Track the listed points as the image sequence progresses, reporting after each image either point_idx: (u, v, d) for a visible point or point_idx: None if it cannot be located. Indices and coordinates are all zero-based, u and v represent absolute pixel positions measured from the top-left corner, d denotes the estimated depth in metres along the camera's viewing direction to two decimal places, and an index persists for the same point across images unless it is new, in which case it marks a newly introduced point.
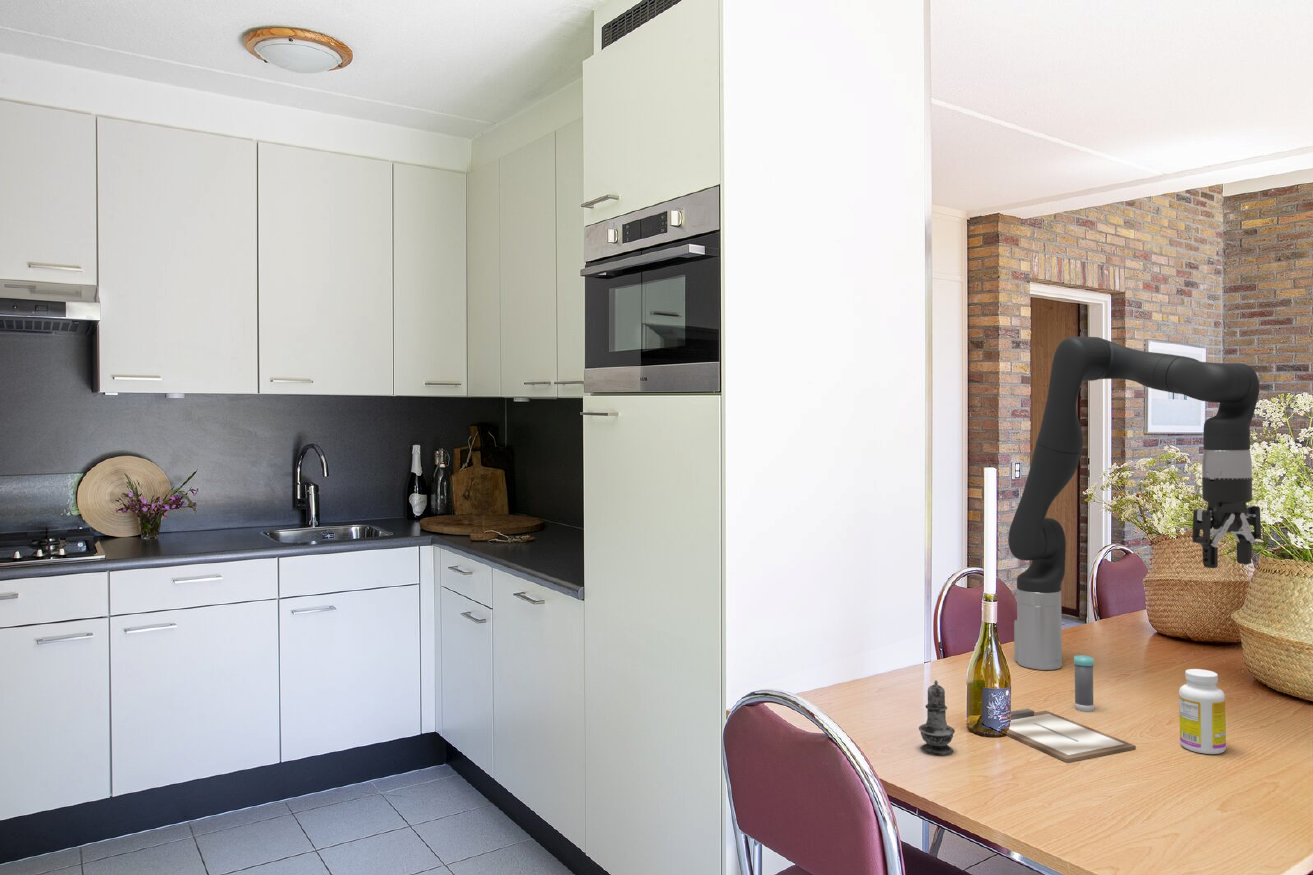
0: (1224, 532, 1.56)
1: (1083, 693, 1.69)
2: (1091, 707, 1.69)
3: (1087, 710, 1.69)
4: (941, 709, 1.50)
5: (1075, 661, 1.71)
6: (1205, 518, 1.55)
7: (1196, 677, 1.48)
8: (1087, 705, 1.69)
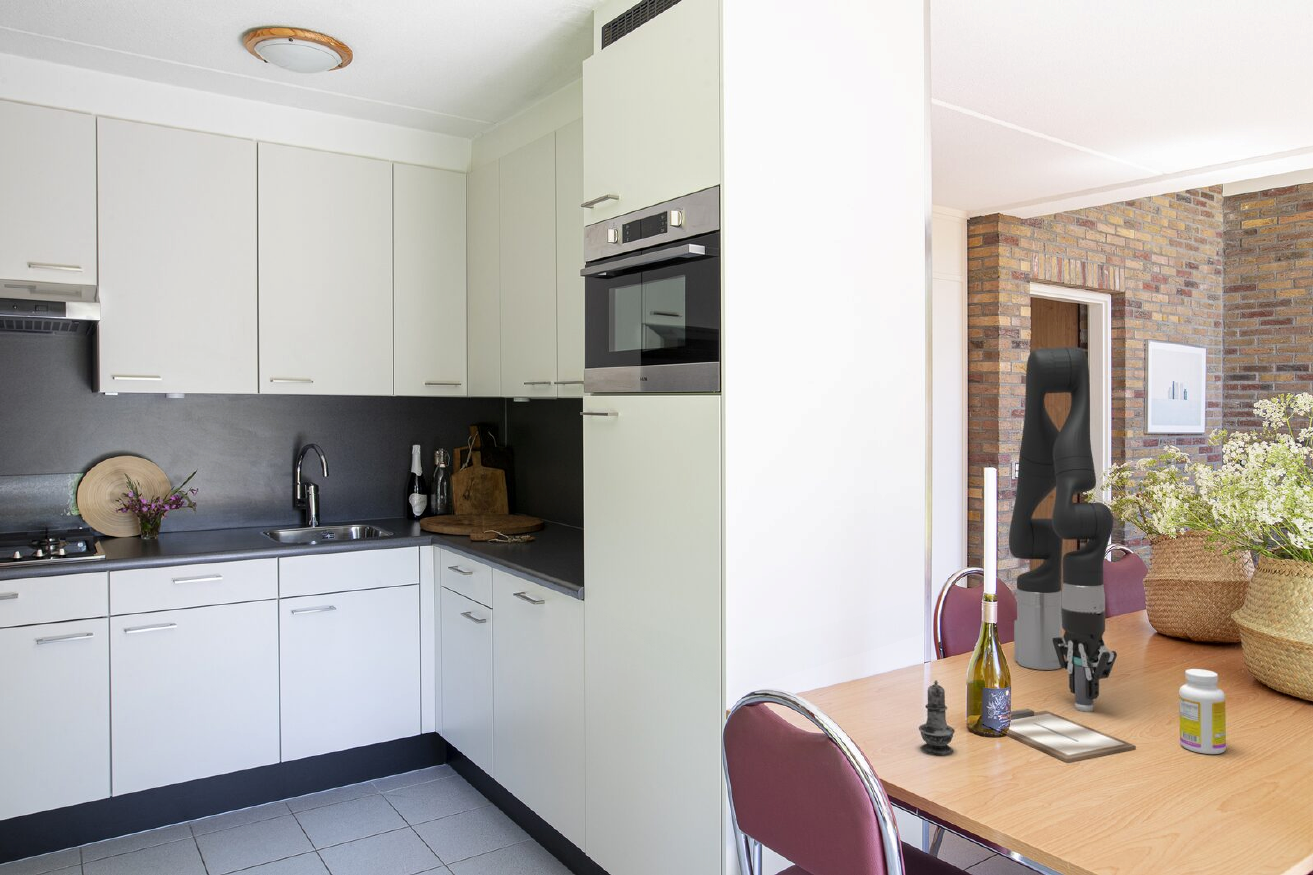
0: None
1: (1083, 693, 1.69)
2: (1091, 707, 1.70)
3: (1087, 710, 1.69)
4: (941, 709, 1.50)
5: (1075, 661, 1.71)
6: (1114, 659, 1.65)
7: (1196, 677, 1.48)
8: (1087, 705, 1.69)
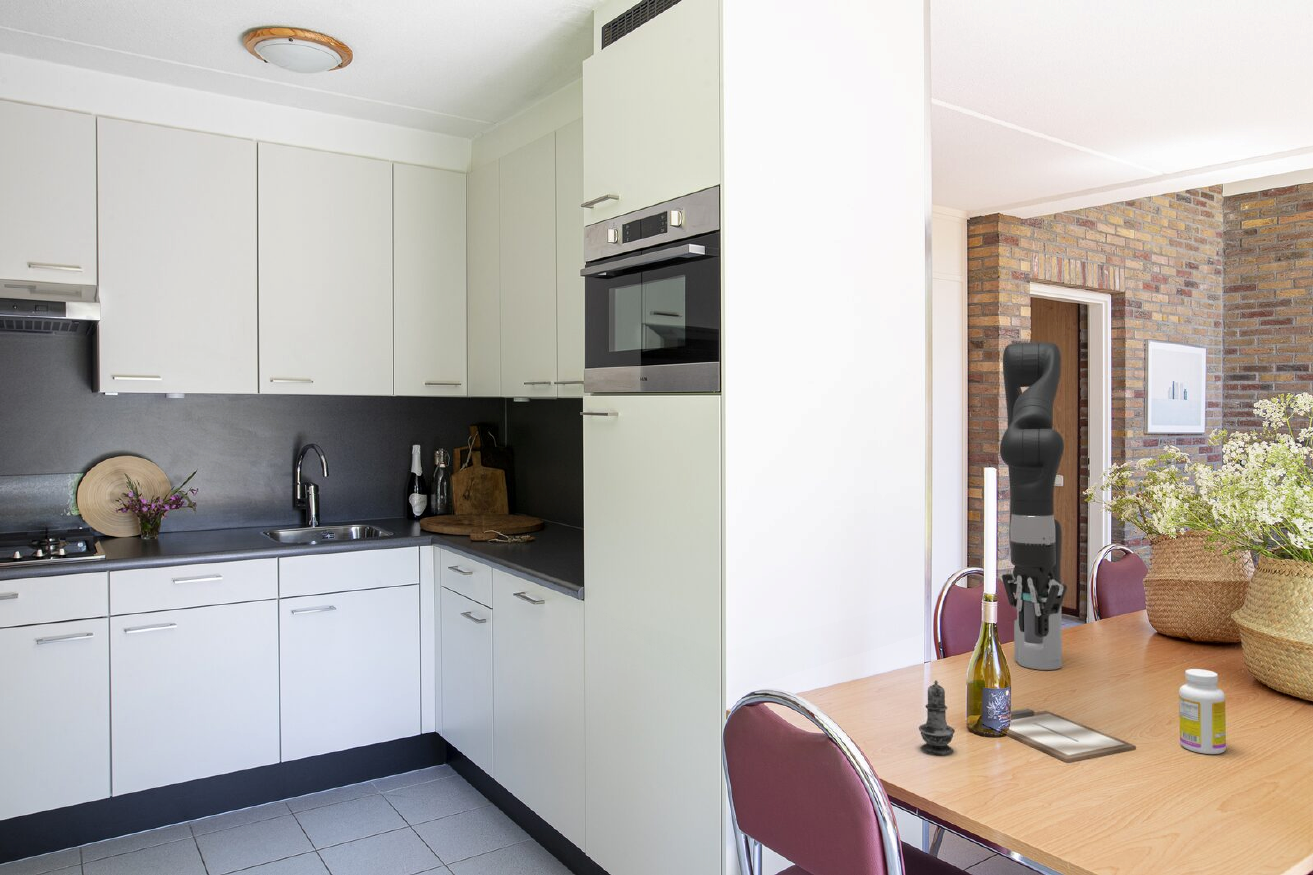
0: (1047, 597, 1.60)
1: (1032, 630, 1.60)
2: (1041, 645, 1.60)
3: (1036, 648, 1.60)
4: (941, 709, 1.50)
5: (1024, 597, 1.61)
6: (1064, 593, 1.56)
7: (1196, 677, 1.48)
8: (1037, 643, 1.60)
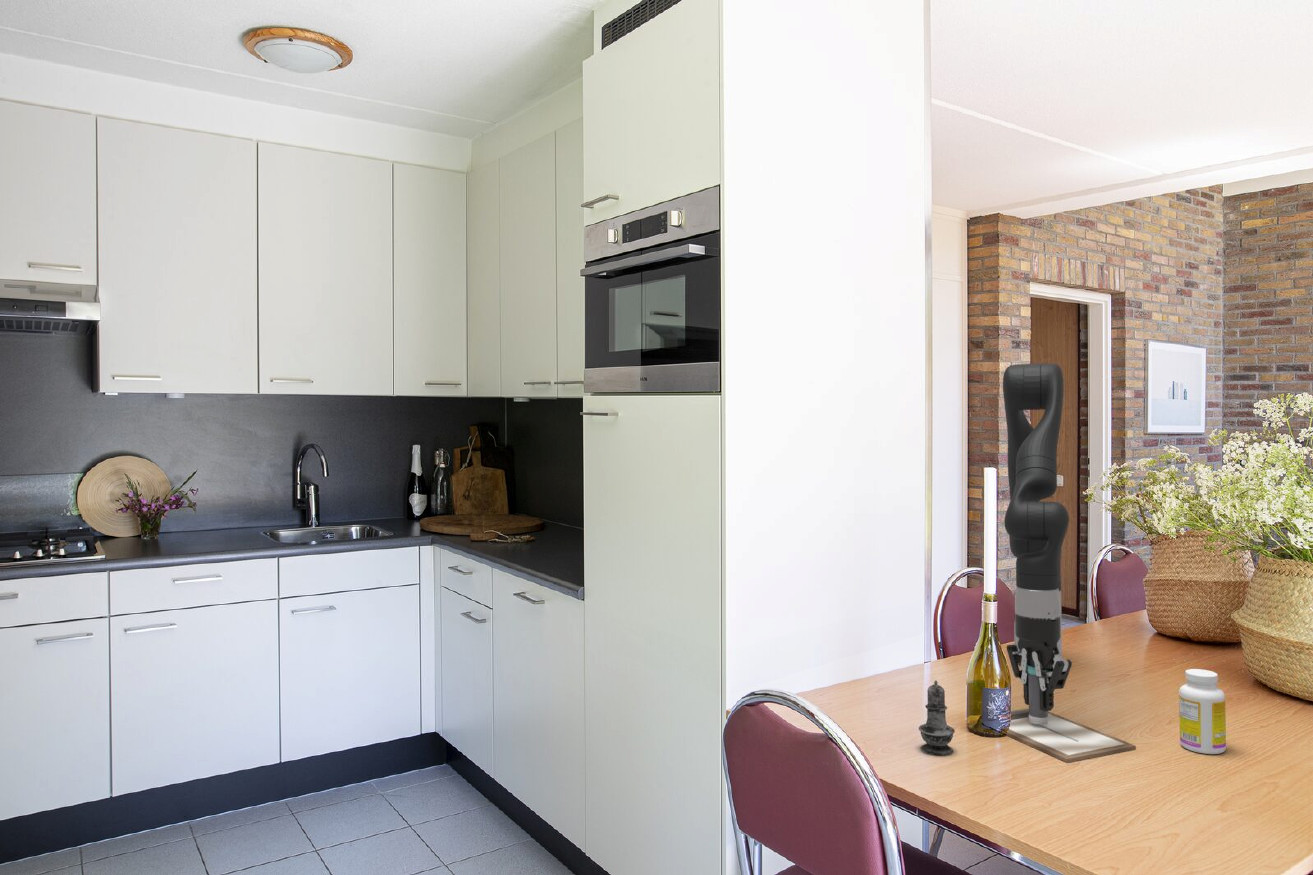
0: (1052, 670, 1.59)
1: (1037, 704, 1.59)
2: (1045, 719, 1.59)
3: (1041, 722, 1.59)
4: (941, 709, 1.50)
5: (1029, 670, 1.60)
6: (1069, 669, 1.55)
7: (1196, 677, 1.48)
8: (1041, 717, 1.59)
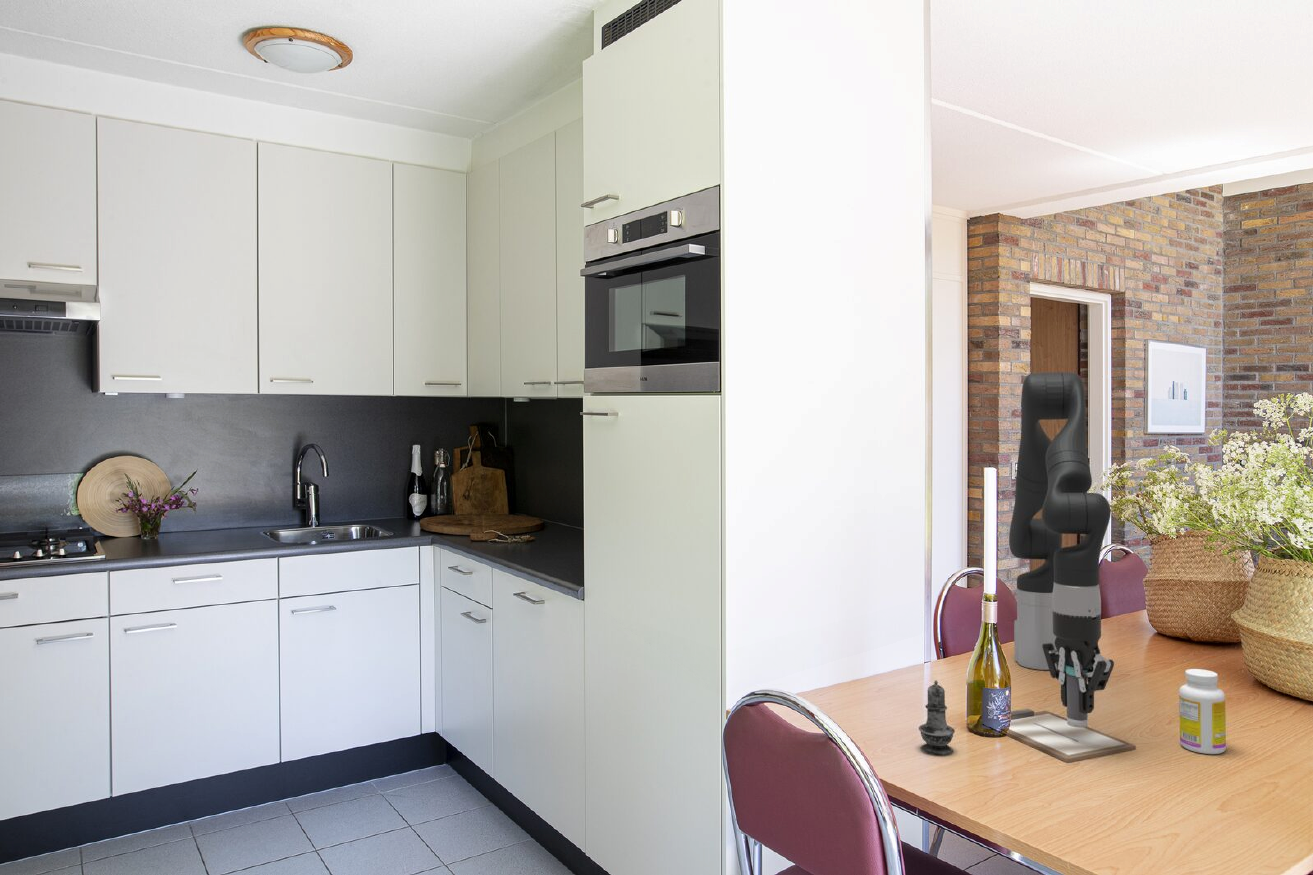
0: None
1: (1076, 706, 1.51)
2: (1085, 722, 1.51)
3: (1080, 725, 1.51)
4: (941, 709, 1.50)
5: (1067, 670, 1.52)
6: (1111, 669, 1.47)
7: (1196, 677, 1.48)
8: (1081, 720, 1.51)
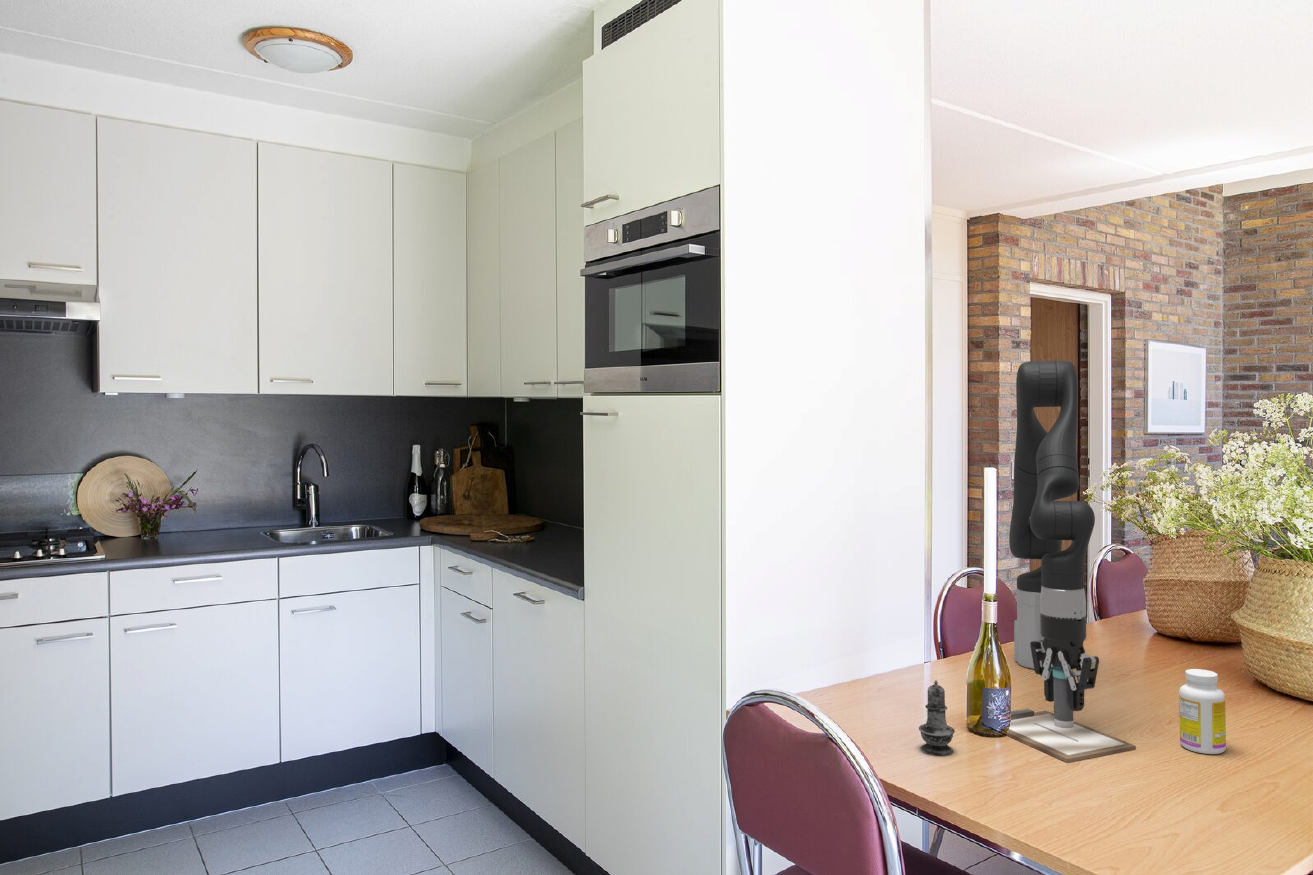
0: (1080, 670, 1.58)
1: (1062, 708, 1.59)
2: (1071, 723, 1.59)
3: (1067, 726, 1.59)
4: (941, 709, 1.50)
5: (1054, 674, 1.60)
6: (1097, 665, 1.54)
7: (1196, 677, 1.48)
8: (1067, 721, 1.59)
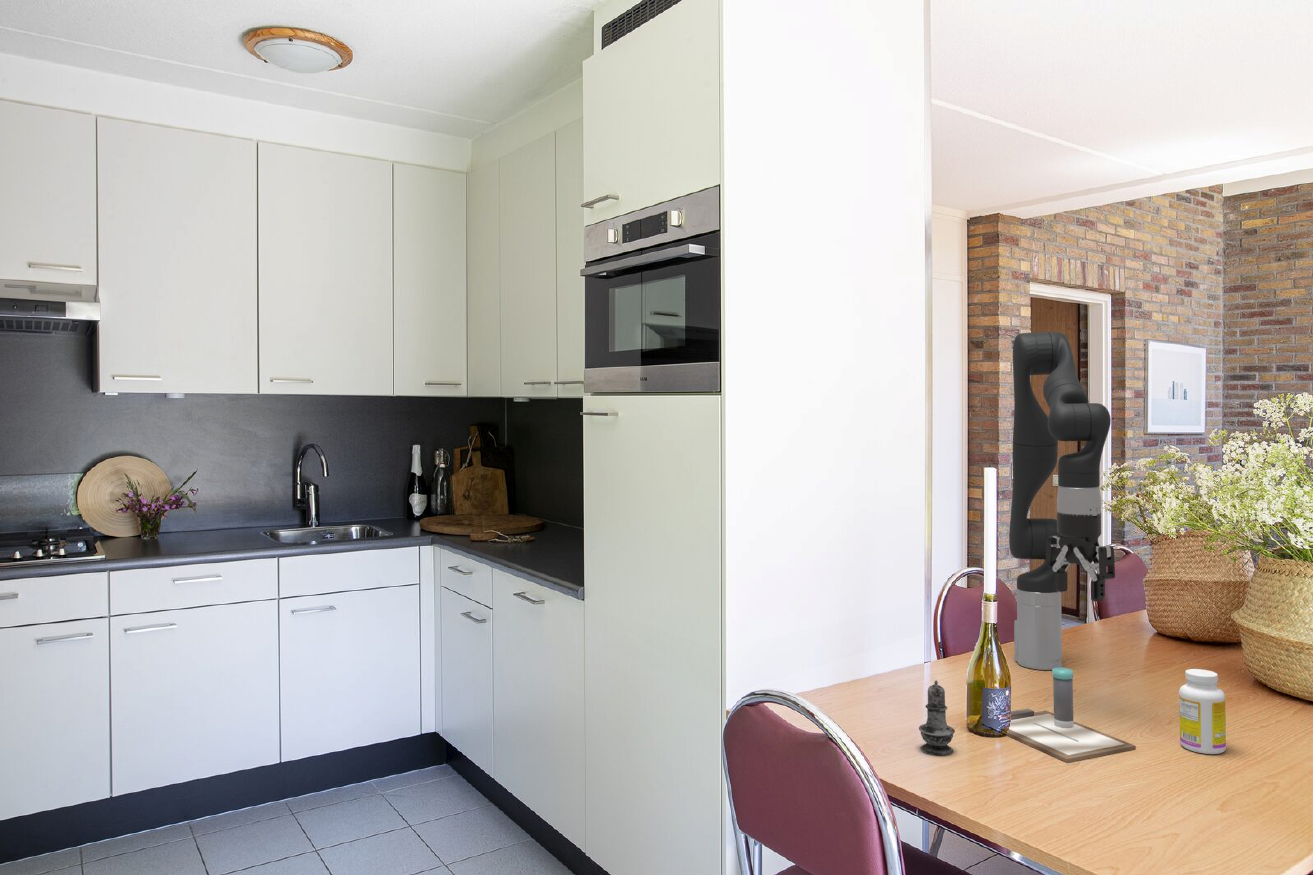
0: None
1: (1062, 708, 1.59)
2: (1071, 723, 1.59)
3: (1067, 726, 1.59)
4: (941, 709, 1.50)
5: (1053, 674, 1.60)
6: (1113, 553, 1.60)
7: (1196, 677, 1.48)
8: (1067, 721, 1.59)
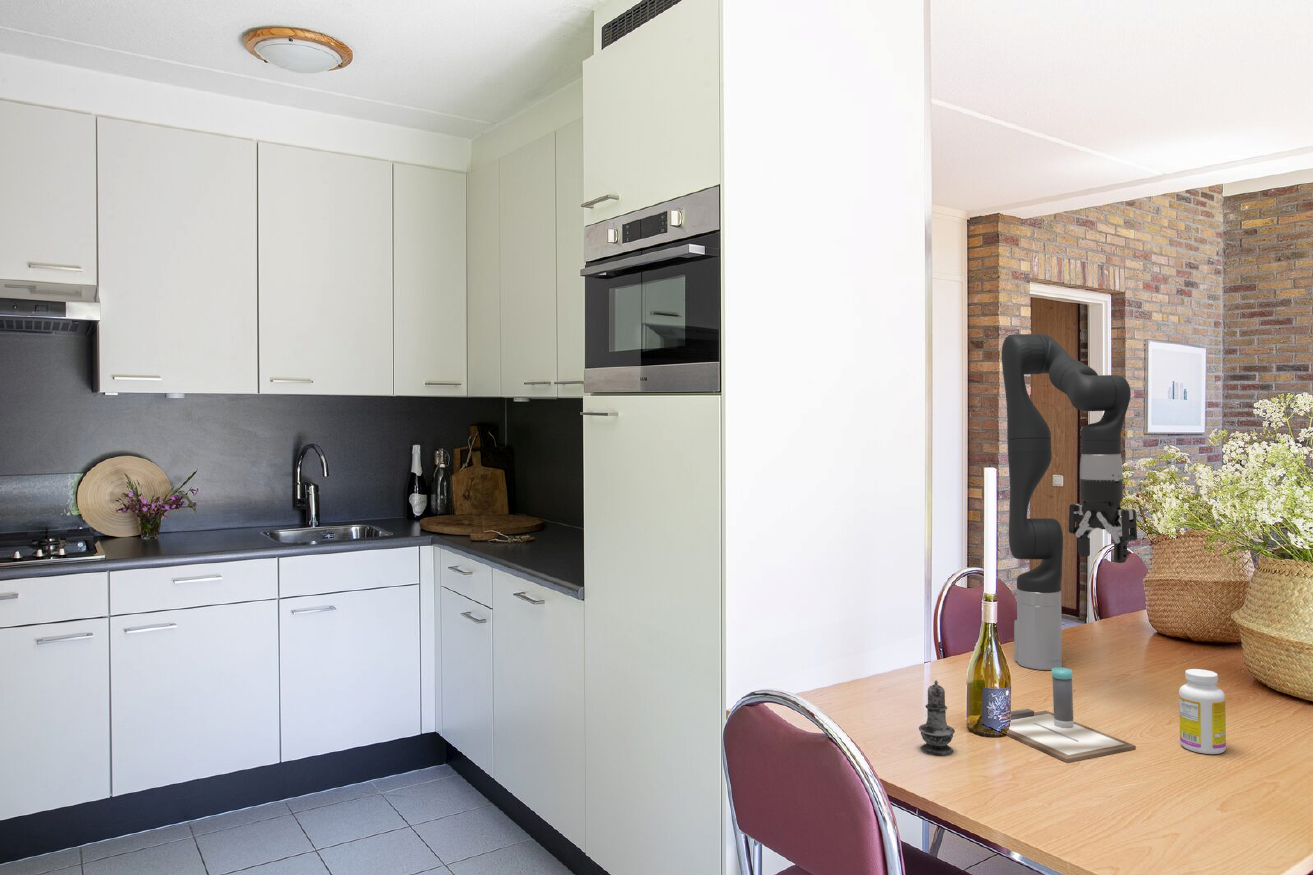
0: None
1: (1062, 708, 1.59)
2: (1071, 723, 1.59)
3: (1067, 726, 1.59)
4: (941, 709, 1.50)
5: (1053, 674, 1.60)
6: (1135, 516, 1.68)
7: (1196, 677, 1.48)
8: (1067, 721, 1.59)
